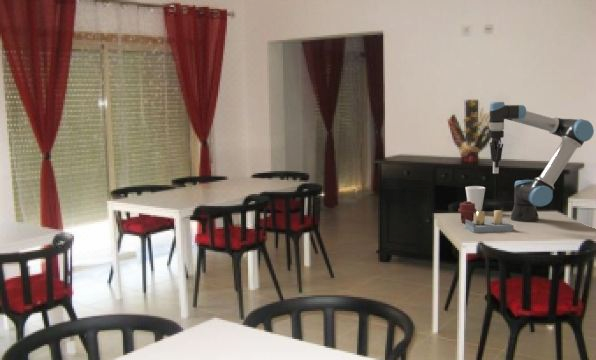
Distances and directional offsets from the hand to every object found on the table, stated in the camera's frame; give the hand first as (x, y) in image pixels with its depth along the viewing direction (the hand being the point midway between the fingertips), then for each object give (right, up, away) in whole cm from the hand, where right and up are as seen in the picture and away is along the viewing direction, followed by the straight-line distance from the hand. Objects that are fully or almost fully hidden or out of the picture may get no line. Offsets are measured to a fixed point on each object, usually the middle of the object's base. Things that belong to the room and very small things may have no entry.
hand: (495, 173), depth 344 cm
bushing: (-10, -31, -6) cm, 33 cm away
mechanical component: (-12, -29, +12) cm, 33 cm away
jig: (-5, -31, -6) cm, 32 cm away
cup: (+1, -24, +43) cm, 49 cm away
